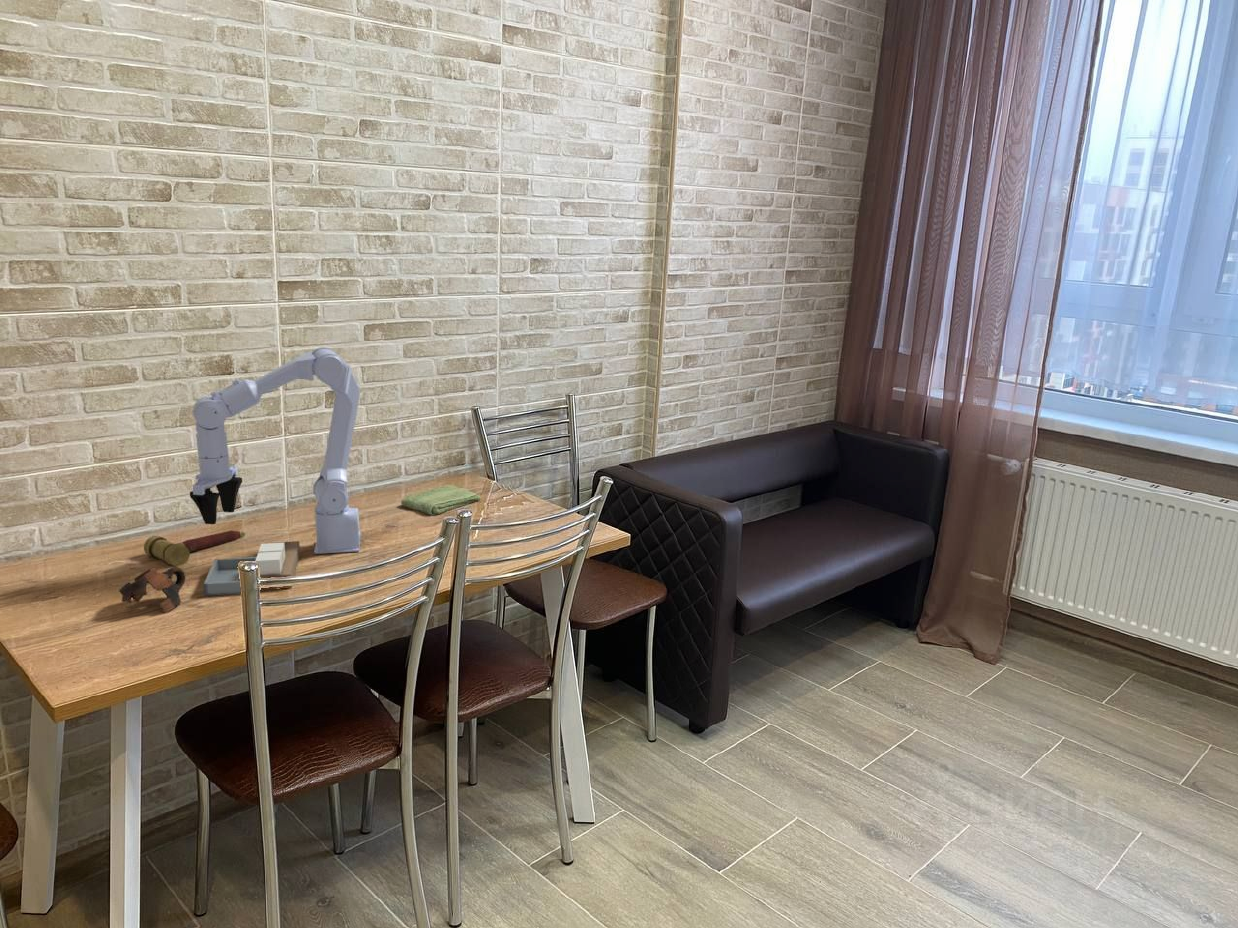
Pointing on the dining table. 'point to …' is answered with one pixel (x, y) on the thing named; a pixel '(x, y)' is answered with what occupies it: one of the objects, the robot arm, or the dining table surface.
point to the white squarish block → (270, 562)
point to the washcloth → (439, 499)
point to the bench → (287, 563)
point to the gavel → (185, 546)
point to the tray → (224, 577)
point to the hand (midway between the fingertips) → (219, 517)
